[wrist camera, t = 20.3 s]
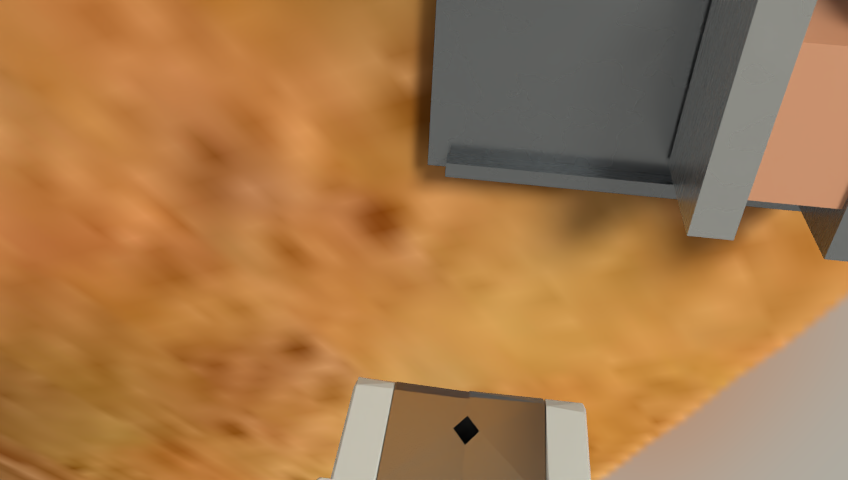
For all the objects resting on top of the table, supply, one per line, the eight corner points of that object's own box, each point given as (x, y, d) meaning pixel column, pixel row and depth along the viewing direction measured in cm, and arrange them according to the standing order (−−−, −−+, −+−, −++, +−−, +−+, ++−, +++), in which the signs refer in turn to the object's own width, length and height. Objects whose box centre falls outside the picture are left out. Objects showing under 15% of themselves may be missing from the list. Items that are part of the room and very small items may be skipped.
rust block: (718, 131, 38) (744, 199, 33) (761, -12, 34) (799, 42, 29) (802, 139, 38) (841, 209, 33) (857, -5, 33) (911, 51, 29)
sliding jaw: (668, 165, 39) (687, 235, 34) (728, -64, 32) (762, -16, 27) (708, 168, 39) (733, 240, 34) (778, -60, 32) (821, -12, 27)
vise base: (430, 153, 42) (412, 235, 36) (446, -131, 33) (426, -87, 27) (854, 193, 40) (909, 286, 34) (981, -93, 32) (1084, -37, 26)
